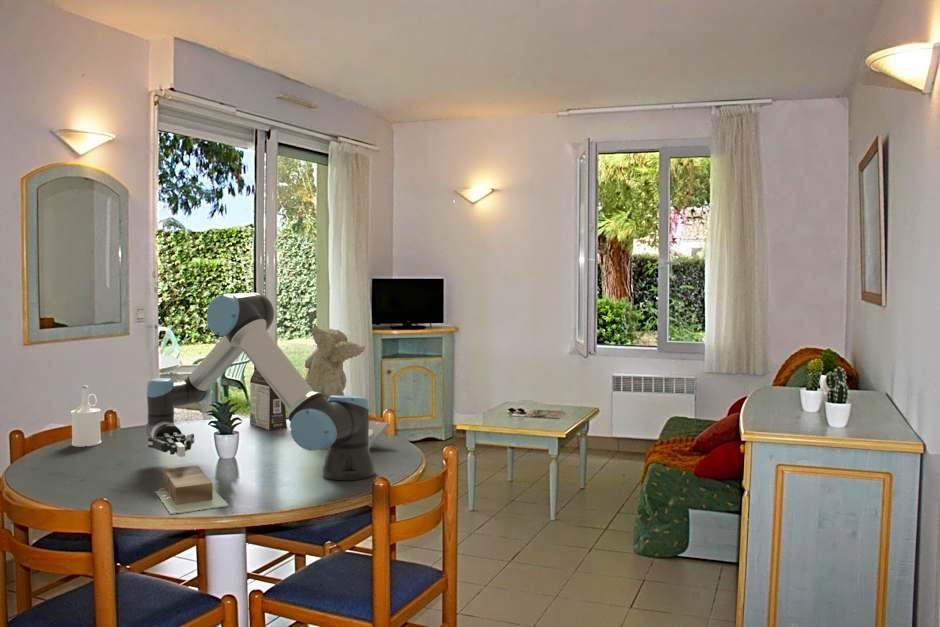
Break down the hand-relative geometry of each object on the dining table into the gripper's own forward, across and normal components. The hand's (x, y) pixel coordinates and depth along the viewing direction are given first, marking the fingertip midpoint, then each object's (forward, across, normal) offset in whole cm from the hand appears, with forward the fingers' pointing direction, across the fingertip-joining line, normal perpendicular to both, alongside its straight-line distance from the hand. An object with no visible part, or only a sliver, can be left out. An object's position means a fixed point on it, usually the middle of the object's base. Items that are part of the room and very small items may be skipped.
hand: (182, 451), depth 223 cm
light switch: (-24, -64, -11) cm, 69 cm away
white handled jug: (-75, +18, -11) cm, 78 cm away
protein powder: (-77, -45, -11) cm, 90 cm away
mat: (+10, 0, -10) cm, 15 cm away
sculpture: (-52, -63, -11) cm, 82 cm away
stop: (0, 0, -10) cm, 11 cm away
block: (-3, 0, -7) cm, 8 cm away
